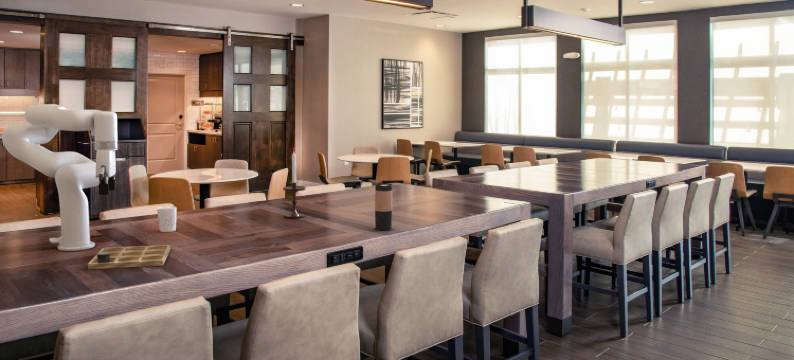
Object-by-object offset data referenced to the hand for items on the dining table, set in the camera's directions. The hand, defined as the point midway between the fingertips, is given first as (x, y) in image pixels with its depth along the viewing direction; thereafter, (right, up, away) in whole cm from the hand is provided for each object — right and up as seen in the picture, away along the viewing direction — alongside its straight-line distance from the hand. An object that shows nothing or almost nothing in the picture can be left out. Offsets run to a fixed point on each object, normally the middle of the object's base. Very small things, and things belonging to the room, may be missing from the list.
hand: (107, 192), depth 229 cm
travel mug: (+100, -18, +49) cm, 113 cm away
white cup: (+7, -18, +41) cm, 45 cm away
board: (+12, -24, -7) cm, 27 cm away
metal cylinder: (+6, -24, -16) cm, 29 cm away
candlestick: (+56, -14, +76) cm, 95 cm away
